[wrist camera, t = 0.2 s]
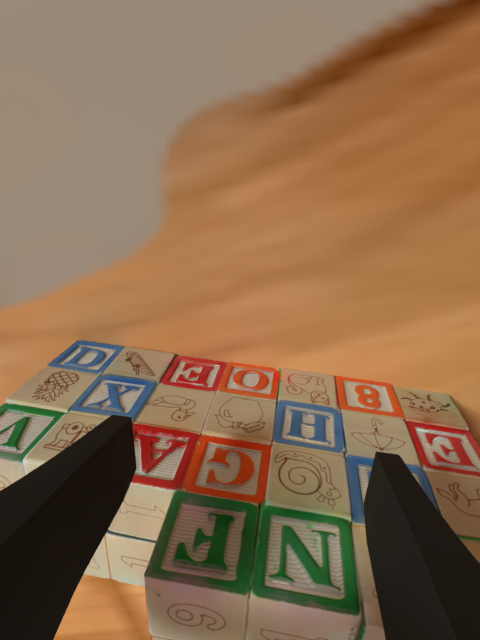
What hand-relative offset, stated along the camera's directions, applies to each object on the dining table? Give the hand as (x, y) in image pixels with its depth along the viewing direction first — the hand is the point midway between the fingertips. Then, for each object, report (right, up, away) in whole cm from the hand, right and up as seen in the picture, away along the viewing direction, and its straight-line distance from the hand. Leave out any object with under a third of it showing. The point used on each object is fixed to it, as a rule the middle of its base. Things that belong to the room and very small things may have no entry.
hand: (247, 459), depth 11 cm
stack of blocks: (0, -1, +12) cm, 12 cm away
